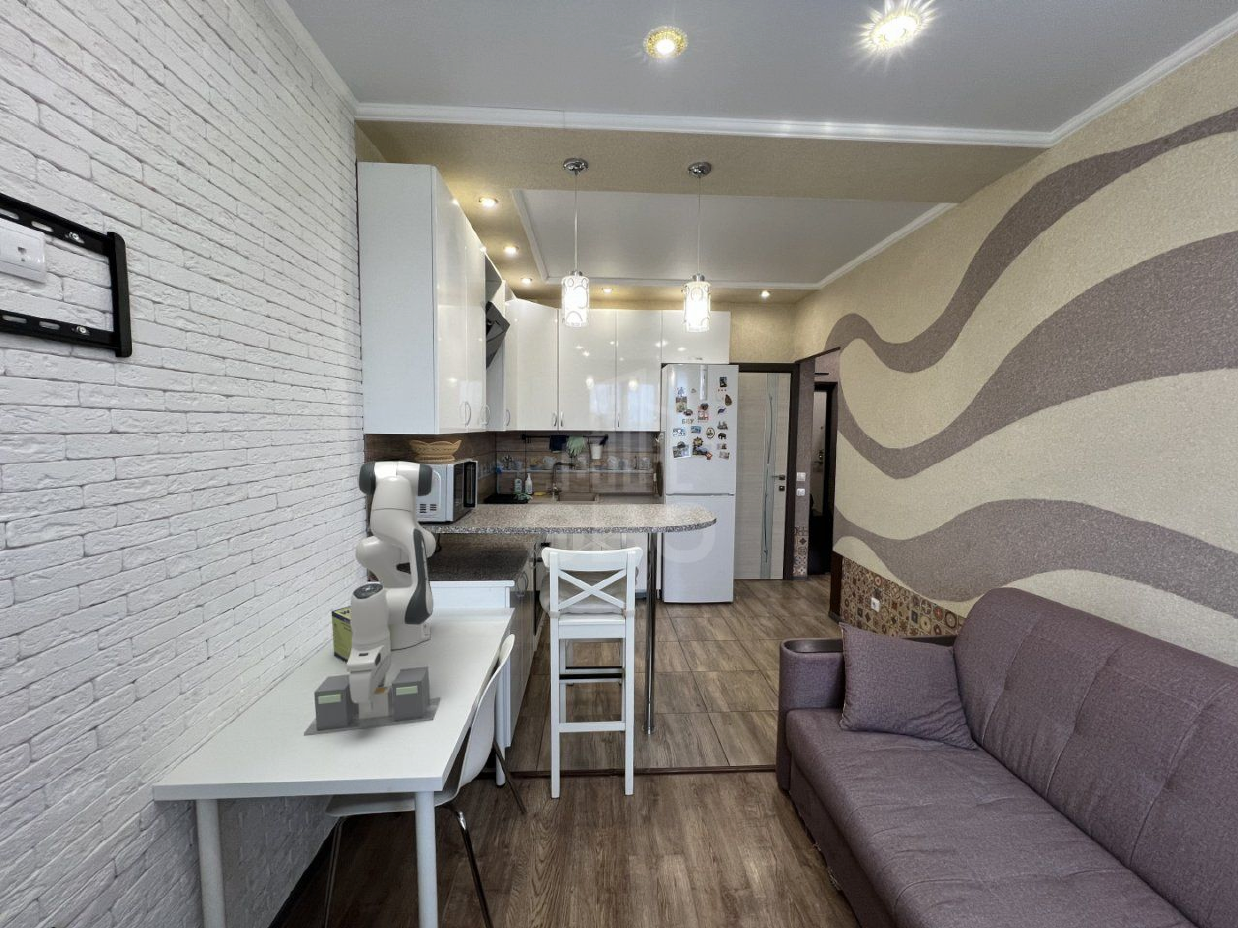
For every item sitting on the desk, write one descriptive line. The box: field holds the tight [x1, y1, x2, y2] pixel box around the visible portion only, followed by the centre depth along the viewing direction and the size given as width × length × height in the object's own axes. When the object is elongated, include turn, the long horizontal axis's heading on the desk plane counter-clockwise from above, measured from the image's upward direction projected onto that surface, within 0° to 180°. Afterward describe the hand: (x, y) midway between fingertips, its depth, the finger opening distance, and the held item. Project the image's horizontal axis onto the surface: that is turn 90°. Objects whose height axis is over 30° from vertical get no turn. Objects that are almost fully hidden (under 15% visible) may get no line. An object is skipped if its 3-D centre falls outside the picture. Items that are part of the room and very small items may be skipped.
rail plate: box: [303, 696, 441, 736], centre depth 127 cm, size 10×30×1 cm, turn 100°
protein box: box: [330, 605, 353, 664], centre depth 163 cm, size 10×16×16 cm
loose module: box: [358, 685, 393, 719], centre depth 127 cm, size 4×7×6 cm, turn 100°
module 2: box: [391, 666, 431, 720], centre depth 128 cm, size 8×7×10 cm
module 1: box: [313, 673, 359, 729], centre depth 125 cm, size 8×7×10 cm
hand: (374, 700), depth 127 cm, fingers open, 8 cm apart
